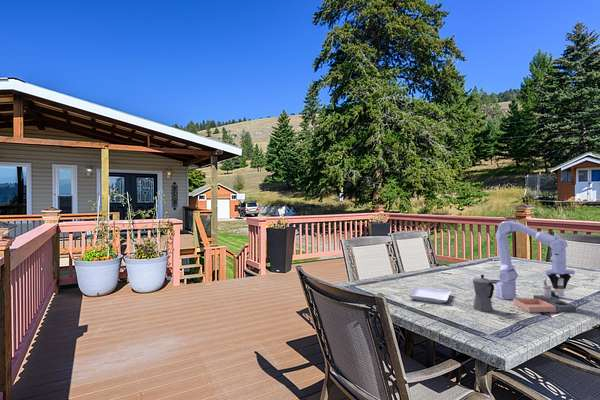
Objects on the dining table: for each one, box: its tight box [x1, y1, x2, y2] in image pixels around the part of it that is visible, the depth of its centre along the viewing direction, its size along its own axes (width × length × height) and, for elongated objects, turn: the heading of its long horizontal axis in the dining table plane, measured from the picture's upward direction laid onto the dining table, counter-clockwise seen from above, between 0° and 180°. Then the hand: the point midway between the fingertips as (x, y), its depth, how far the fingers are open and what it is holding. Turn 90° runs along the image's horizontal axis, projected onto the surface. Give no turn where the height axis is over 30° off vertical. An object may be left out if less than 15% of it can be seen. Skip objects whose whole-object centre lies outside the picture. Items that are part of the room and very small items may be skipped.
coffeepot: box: [472, 274, 495, 313], centre depth 178 cm, size 15×9×18 cm, turn 6°
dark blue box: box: [543, 277, 560, 299], centre depth 197 cm, size 6×8×11 cm
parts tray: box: [512, 298, 557, 314], centre depth 178 cm, size 13×13×3 cm
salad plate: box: [407, 286, 453, 304], centre depth 200 cm, size 21×21×3 cm
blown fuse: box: [554, 276, 565, 297], centre depth 177 cm, size 4×4×9 cm
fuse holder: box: [533, 294, 577, 313], centre depth 182 cm, size 8×20×2 cm, turn 179°
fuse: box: [542, 284, 552, 299], centre depth 187 cm, size 4×4×9 cm
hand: (559, 288), depth 177 cm, fingers closed on blown fuse, 4 cm apart
